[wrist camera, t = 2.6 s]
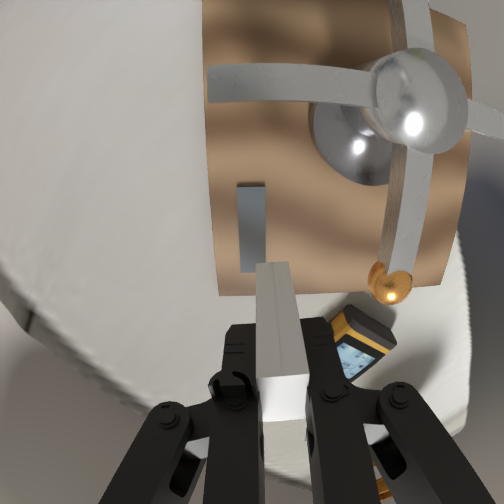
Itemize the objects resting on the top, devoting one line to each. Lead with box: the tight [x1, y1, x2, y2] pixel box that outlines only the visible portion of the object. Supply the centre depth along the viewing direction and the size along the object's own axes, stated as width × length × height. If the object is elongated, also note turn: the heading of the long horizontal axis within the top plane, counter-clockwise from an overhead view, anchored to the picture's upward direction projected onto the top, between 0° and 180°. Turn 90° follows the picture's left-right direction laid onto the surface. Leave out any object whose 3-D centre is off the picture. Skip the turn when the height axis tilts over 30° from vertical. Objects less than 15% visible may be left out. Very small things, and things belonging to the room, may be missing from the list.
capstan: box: [207, 0, 504, 305], centre depth 13 cm, size 21×19×8 cm
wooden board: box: [202, 0, 472, 296], centre depth 18 cm, size 26×22×2 cm
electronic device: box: [329, 305, 397, 383], centre depth 29 cm, size 8×16×3 cm, turn 146°
